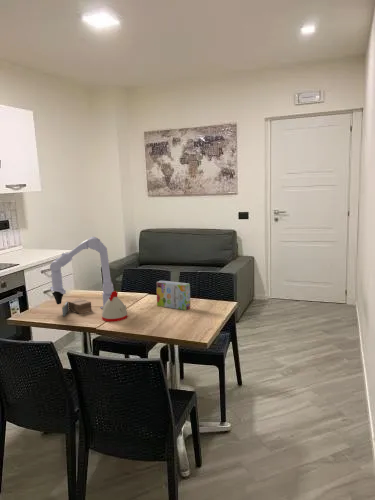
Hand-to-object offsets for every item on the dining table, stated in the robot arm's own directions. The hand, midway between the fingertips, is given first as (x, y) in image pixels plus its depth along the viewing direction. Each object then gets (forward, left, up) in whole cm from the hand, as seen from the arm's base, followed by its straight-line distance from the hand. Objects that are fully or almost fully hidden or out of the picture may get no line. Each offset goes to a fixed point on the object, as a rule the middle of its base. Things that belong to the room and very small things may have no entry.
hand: (58, 303), depth 238 cm
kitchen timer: (-34, -15, -6) cm, 38 cm away
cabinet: (-6, -10, -5) cm, 13 cm away
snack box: (-46, -49, -6) cm, 67 cm away
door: (-4, -2, -5) cm, 7 cm away
